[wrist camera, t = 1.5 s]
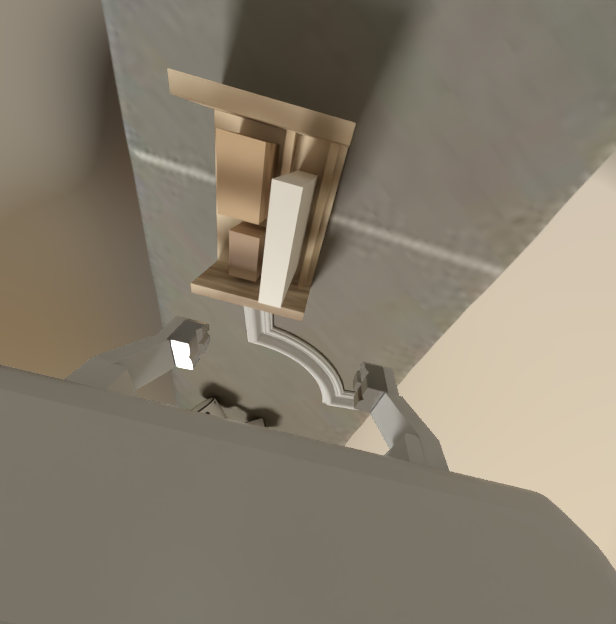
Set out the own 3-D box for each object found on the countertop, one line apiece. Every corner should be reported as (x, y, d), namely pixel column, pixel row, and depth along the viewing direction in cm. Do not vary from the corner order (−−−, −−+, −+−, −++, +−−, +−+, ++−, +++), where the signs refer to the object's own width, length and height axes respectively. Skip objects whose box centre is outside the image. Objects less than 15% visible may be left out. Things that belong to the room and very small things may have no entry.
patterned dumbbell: (195, 400, 67) (174, 433, 59) (206, 386, 61) (186, 420, 53) (264, 433, 73) (255, 467, 65) (280, 423, 68) (272, 459, 60)
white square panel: (298, 170, 28) (271, 178, 17) (317, 175, 28) (303, 187, 17) (283, 258, 35) (258, 302, 24) (299, 262, 35) (280, 308, 24)
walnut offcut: (243, 221, 32) (229, 230, 28) (269, 228, 32) (259, 238, 28) (241, 261, 36) (228, 274, 32) (265, 267, 36) (255, 281, 32)
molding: (379, 400, 56) (381, 410, 54) (340, 413, 61) (340, 423, 59) (258, 282, 40) (253, 289, 38) (220, 313, 46) (214, 322, 43)
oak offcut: (239, 133, 26) (215, 127, 21) (279, 144, 26) (265, 142, 21) (237, 204, 31) (217, 213, 26) (271, 214, 31) (258, 224, 26)
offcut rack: (220, 94, 25) (167, 68, 18) (351, 133, 26) (355, 122, 18) (221, 265, 38) (191, 292, 31) (309, 288, 39) (301, 321, 31)
